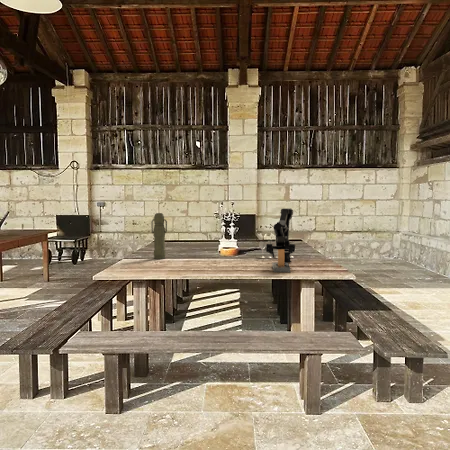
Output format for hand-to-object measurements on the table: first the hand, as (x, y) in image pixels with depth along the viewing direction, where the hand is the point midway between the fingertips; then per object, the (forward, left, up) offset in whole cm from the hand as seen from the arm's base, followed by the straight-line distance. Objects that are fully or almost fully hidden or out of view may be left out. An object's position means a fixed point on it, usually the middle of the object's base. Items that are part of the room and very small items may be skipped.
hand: (281, 258), depth 259 cm
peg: (0, 0, -7) cm, 7 cm away
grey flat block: (0, 0, -7) cm, 7 cm away
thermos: (-92, -40, -8) cm, 101 cm away
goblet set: (-42, +37, -8) cm, 56 cm away
